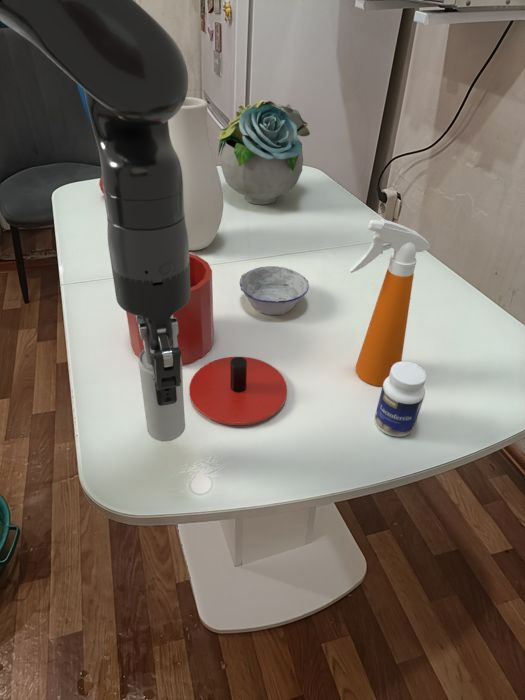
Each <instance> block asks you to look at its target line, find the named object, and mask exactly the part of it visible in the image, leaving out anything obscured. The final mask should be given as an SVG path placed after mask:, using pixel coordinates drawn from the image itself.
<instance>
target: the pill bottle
mask: <svg viewBox="0 0 525 700" xmlns="http://www.w3.org/2000/svg"><path fill="white" fill-rule="evenodd" d="M426 380H427V373H426V371H425V370H424V369H423V367H422V366H420V365H418V364H417V363H415V362H412V361H405V360H404V361H401V362H397V363H395V364H394V365H393V366H392V368H391V371H390V374H389V376H388V377H387V378H386V379H385V381H384V383H383V386H381V392H380V395H379V399H378V402H377V405H376V410H375V414H374V421H375V425H376V426H377V429H379V430H380V431H381V432H383V433H384V434H386V435H388V436H391V437H406V436H407V435H409V434H411V433H412V432H413V430H414V428H415V425H416V423H417V419H418V416H419V414H420V411H421V409H422V408H421V407H422V405H423V402H424V399H425V397H426V388H425V383H426Z"/></svg>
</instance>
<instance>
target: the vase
mask: <svg viewBox="0 0 525 700" xmlns="http://www.w3.org/2000/svg"><path fill="white" fill-rule="evenodd" d="M168 125H169V135H170V140H171V143H172V145H173V148H174V150H175V152H176V154H177V156H178V158H179V161H180V164H181V169H182V176H183V193H184V214H185V222H186V227H187V232H188V242H189V251H200V250H203V249H205V248H207V247H209V246H210V245H211V244H212V242H214V239H215V238H216V236H217V235H218V231H219V230H220V226H221V223H222V219H223V213H224V192H223V187H222V181H221V177H220V174H219V171H218V166H217V163H216V160H215V157H214V153H213V150H212V146H211V141H210V136H209V129H208V101H206V99H202V98H199V97H192V96H186V98H185V101H184V103H183V105H182V107H181V108H180V110H179V111H178V112H177V114H176V115H175V116H174V117H172V118H171V119H170V120H168Z"/></svg>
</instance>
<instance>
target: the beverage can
mask: <svg viewBox="0 0 525 700" xmlns="http://www.w3.org/2000/svg"><path fill="white" fill-rule="evenodd" d="M170 347H171V348H172V346H170ZM150 350H151V347H150ZM151 353H152V354H154V350H151ZM138 369H139V376H140V383H141V393H142V399H143V408H144V415H145V423H146V429H147V433H148V435H149V436H150V438H152V439H154V440H156V441H157V442H165V443H166V442H172V441H175V440H177V439H178V438H179V437H181V436H182V435H183V433H184V432H185V430H186V417H185V416H186V415H185V402H184V399H185V398H184V376H183V375H184V374H183V365H182V360H181V356H180V378H181V383H180V386H178V387H176V393H177V401H176V402H175V403H173V404H169V405H163V406H159V405H158V403H157V399H156V389H155V382H154V381H153V378H152V376H153V370H152V365H149V364H148V362H147V360H146V355H145V349H144V350H143V351H142V352H141V354H140V356H139V357H138Z"/></svg>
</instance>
